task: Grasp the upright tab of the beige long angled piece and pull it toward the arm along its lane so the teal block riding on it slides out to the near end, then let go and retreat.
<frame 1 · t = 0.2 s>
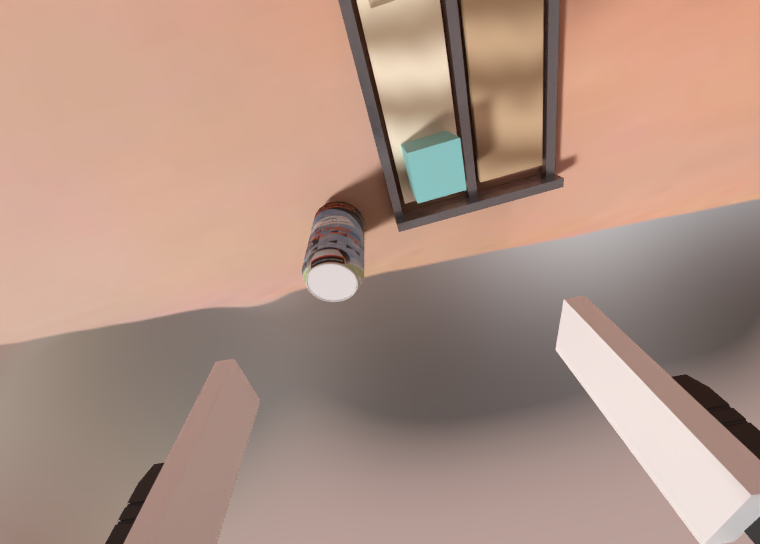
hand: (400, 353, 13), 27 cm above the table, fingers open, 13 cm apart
block: (427, 161, 34), point 1 cm above the table, touching beige long angled piece
strip oak: (523, 72, 27), point 5 cm above the table, slide at 0.0 cm
beige long angled piece: (423, 102, 28), point 5 cm above the table, slide at 0.0 cm, touching block
beverage can: (339, 225, 39), on the table
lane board: (457, 87, 32), on the table
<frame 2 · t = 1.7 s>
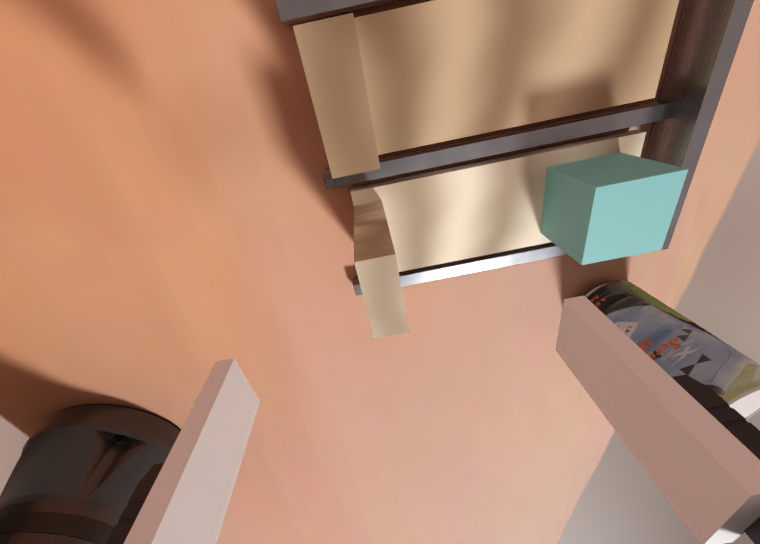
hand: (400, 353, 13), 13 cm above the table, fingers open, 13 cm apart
block: (577, 195, 22), point 1 cm above the table, touching beige long angled piece
strip oak: (527, 61, 15), point 5 cm above the table, slide at 0.0 cm
beige long angled piece: (517, 230, 20), point 5 cm above the table, slide at 0.0 cm, touching block
beverage can: (601, 300, 30), on the table
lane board: (489, 143, 21), on the table
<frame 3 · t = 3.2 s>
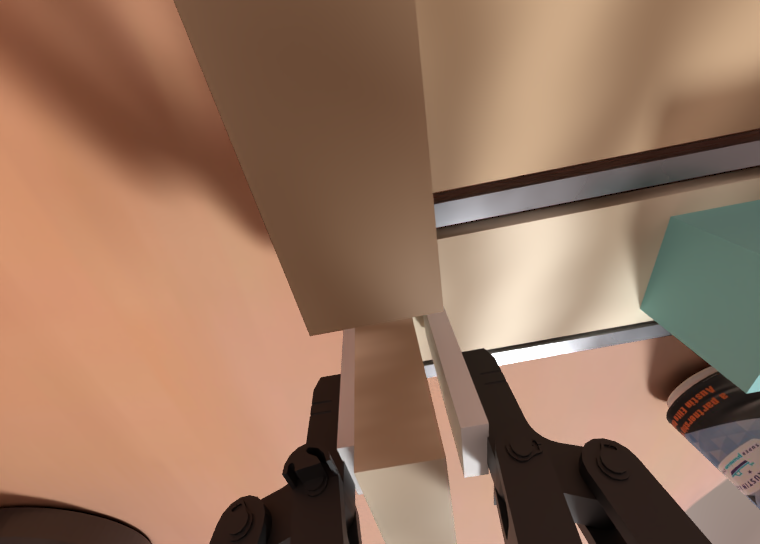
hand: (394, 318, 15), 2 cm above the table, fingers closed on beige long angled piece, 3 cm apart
block: (709, 256, 14), point 1 cm above the table, touching beige long angled piece
strip oak: (750, 26, 7), point 5 cm above the table, slide at 0.0 cm
beige long angled piece: (635, 332, 11), point 5 cm above the table, slide at 0.2 cm, touching block, gripper
beverage can: (700, 380, 22), on the table
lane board: (580, 176, 13), on the table
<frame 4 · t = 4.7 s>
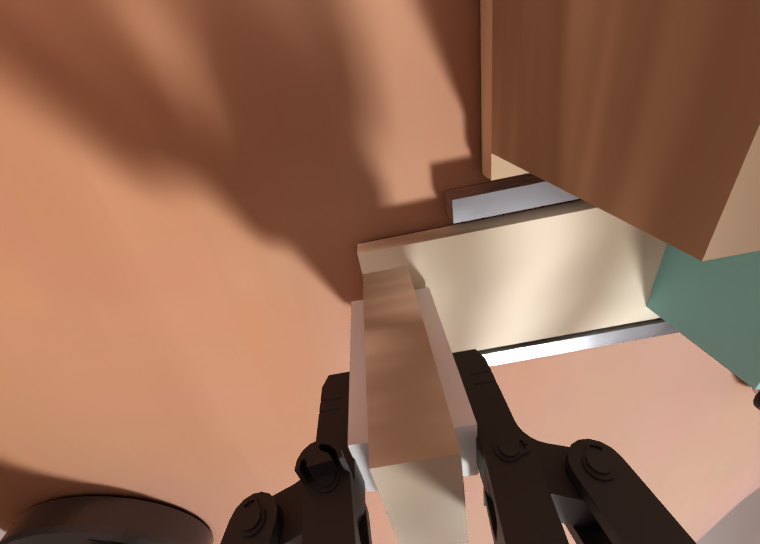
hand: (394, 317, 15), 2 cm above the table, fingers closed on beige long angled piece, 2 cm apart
block: (715, 253, 14), point 1 cm above the table, touching beige long angled piece
beige long angled piece: (643, 329, 11), point 5 cm above the table, slide at 5.6 cm, touching block, gripper
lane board: (717, 148, 13), on the table
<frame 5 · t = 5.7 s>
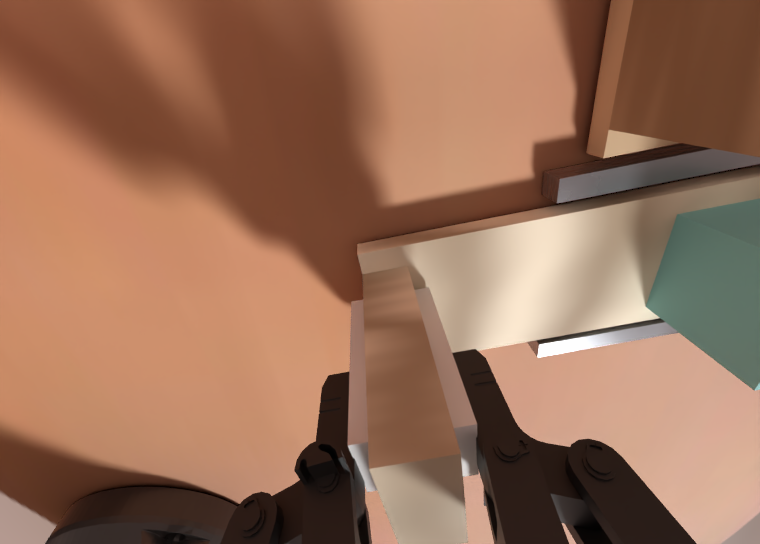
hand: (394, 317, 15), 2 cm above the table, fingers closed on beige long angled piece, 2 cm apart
block: (715, 254, 14), point 1 cm above the table, touching beige long angled piece
beige long angled piece: (643, 329, 11), point 5 cm above the table, slide at 9.8 cm, touching block, gripper
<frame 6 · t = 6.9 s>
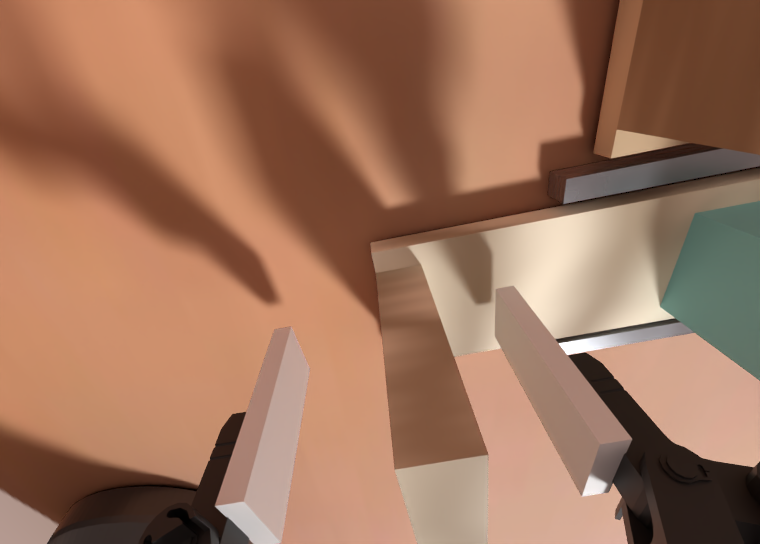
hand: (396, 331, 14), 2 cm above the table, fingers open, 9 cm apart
block: (732, 253, 14), point 1 cm above the table, touching beige long angled piece
beige long angled piece: (662, 329, 11), point 5 cm above the table, slide at 9.4 cm, touching block
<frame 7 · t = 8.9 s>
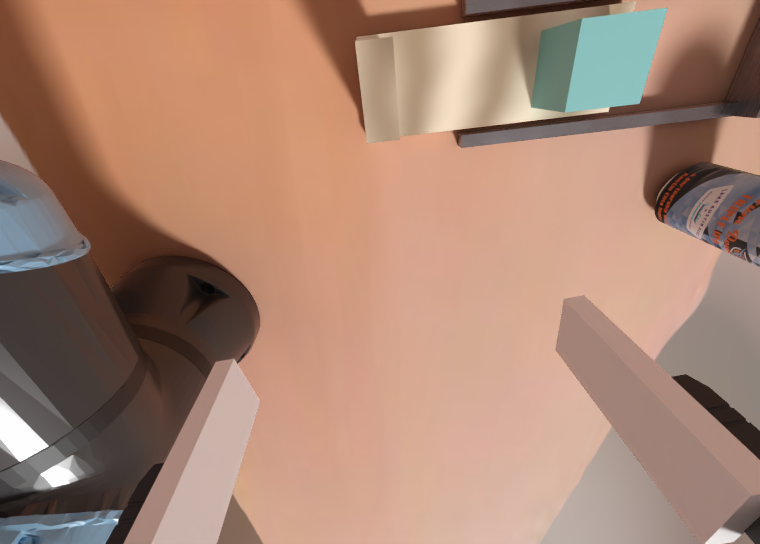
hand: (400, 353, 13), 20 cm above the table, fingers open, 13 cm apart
block: (568, 67, 24), point 1 cm above the table, touching beige long angled piece
beige long angled piece: (508, 75, 21), point 5 cm above the table, slide at 9.4 cm, touching block
beverage can: (679, 192, 31), on the table
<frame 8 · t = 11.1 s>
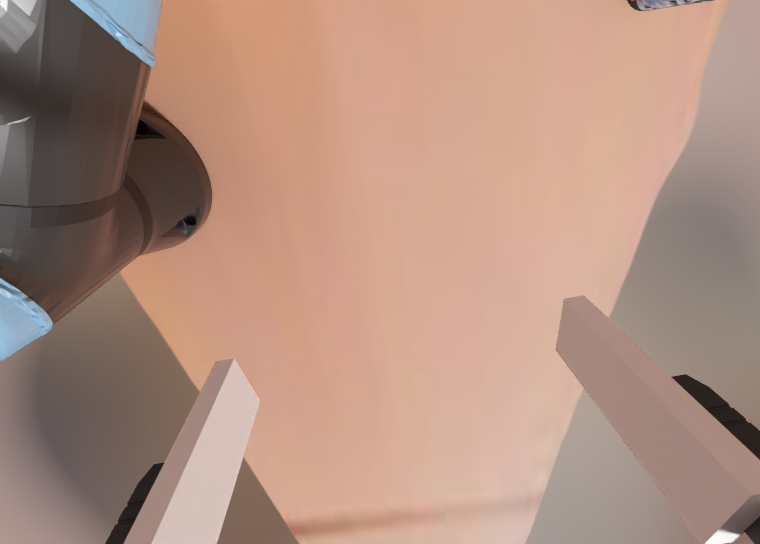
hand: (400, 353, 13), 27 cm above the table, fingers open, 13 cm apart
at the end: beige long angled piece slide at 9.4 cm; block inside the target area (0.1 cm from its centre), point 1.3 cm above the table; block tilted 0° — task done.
